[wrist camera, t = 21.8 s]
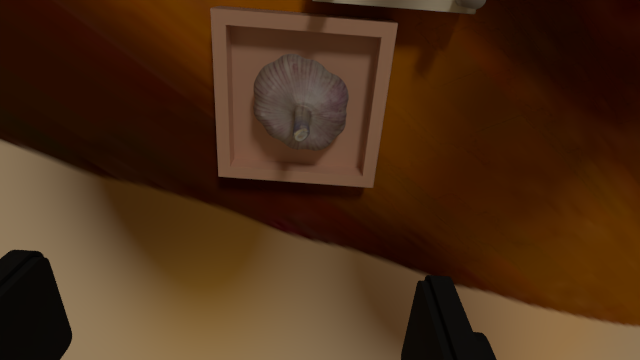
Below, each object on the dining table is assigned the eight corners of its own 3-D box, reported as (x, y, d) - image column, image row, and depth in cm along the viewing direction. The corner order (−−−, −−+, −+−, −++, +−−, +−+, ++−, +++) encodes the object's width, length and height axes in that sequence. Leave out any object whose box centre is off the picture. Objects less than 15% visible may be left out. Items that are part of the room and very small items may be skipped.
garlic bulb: (356, 131, 33) (364, 173, 26) (272, 149, 34) (257, 195, 27) (336, 38, 30) (340, 56, 23) (244, 61, 31) (218, 86, 23)
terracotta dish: (392, 19, 30) (397, 23, 28) (369, 174, 36) (372, 187, 33) (219, 5, 30) (210, 8, 27) (225, 164, 35) (218, 176, 33)
